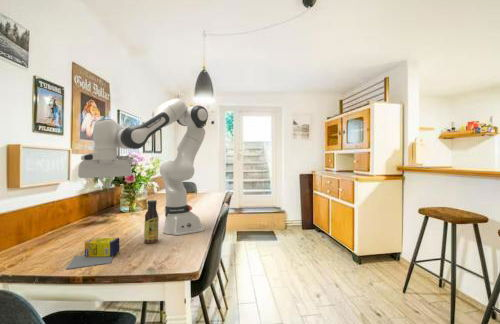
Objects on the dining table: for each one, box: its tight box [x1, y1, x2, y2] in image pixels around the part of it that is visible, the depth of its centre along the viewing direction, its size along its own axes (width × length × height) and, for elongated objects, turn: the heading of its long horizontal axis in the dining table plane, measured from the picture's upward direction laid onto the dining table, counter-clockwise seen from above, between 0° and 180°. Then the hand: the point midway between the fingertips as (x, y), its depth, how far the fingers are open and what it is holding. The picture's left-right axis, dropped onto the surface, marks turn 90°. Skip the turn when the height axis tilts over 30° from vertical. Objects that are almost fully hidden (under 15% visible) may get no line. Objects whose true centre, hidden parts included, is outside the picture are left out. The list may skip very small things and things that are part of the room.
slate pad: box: [65, 254, 115, 271], centre depth 94 cm, size 14×12×1 cm
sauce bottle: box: [143, 199, 159, 244], centre depth 115 cm, size 7×6×20 cm
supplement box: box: [84, 237, 120, 257], centre depth 99 cm, size 6×6×11 cm
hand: (106, 187), depth 105 cm, fingers closed
